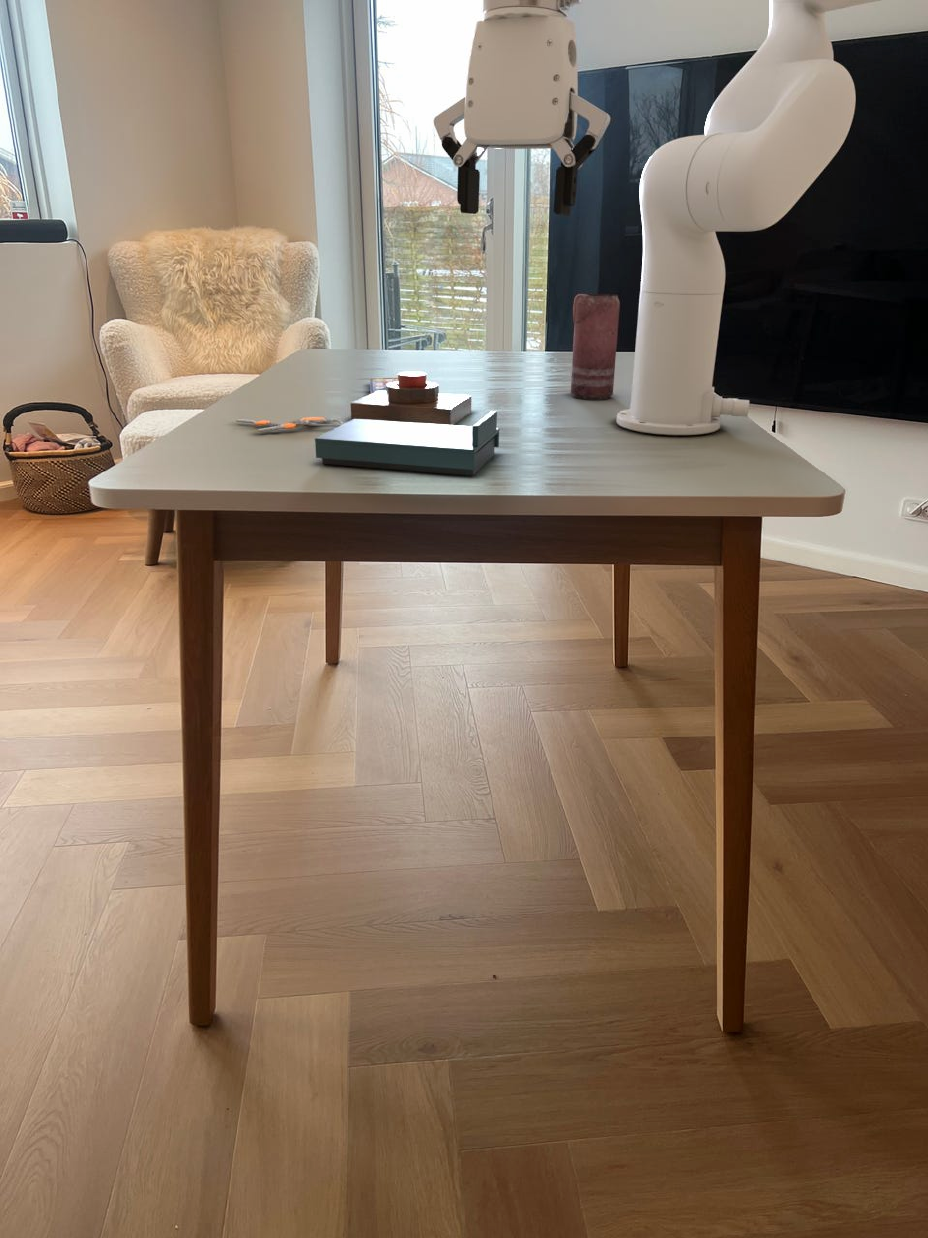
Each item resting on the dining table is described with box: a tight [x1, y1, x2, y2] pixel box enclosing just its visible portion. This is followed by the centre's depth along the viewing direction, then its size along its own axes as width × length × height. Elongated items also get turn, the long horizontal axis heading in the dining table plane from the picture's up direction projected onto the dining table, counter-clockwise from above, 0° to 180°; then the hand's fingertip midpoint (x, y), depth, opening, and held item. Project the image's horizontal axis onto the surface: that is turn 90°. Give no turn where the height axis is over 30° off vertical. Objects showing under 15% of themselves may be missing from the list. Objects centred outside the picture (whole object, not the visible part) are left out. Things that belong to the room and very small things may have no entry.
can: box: [570, 293, 621, 401], centre depth 124 cm, size 6×6×14 cm
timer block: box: [350, 380, 472, 425], centre depth 111 cm, size 13×10×4 cm
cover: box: [314, 410, 500, 470], centre depth 90 cm, size 17×10×4 cm, turn 75°
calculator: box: [321, 437, 495, 477], centre depth 91 cm, size 16×9×2 cm, turn 75°
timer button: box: [397, 371, 427, 388], centre depth 110 cm, size 4×4×2 cm
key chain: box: [235, 416, 344, 433], centre depth 105 cm, size 13×7×1 cm, turn 102°
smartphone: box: [369, 377, 398, 394], centre depth 128 cm, size 1×7×15 cm
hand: (514, 213), depth 85 cm, fingers open, 9 cm apart
